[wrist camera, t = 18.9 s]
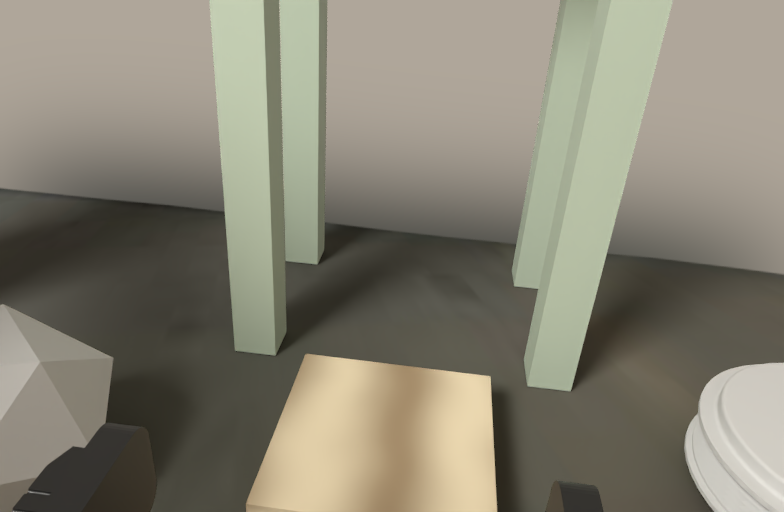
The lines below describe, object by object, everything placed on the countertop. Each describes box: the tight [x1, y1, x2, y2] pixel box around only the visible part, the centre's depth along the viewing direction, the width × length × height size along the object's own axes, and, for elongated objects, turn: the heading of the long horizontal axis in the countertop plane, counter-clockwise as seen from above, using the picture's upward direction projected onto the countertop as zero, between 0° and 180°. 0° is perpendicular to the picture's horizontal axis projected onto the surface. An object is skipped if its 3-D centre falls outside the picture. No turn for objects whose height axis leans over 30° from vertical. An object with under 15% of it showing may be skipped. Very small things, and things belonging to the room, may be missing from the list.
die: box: [0, 304, 113, 512], centre depth 25 cm, size 8×9×10 cm
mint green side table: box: [209, 0, 673, 391], centre depth 34 cm, size 20×14×32 cm
